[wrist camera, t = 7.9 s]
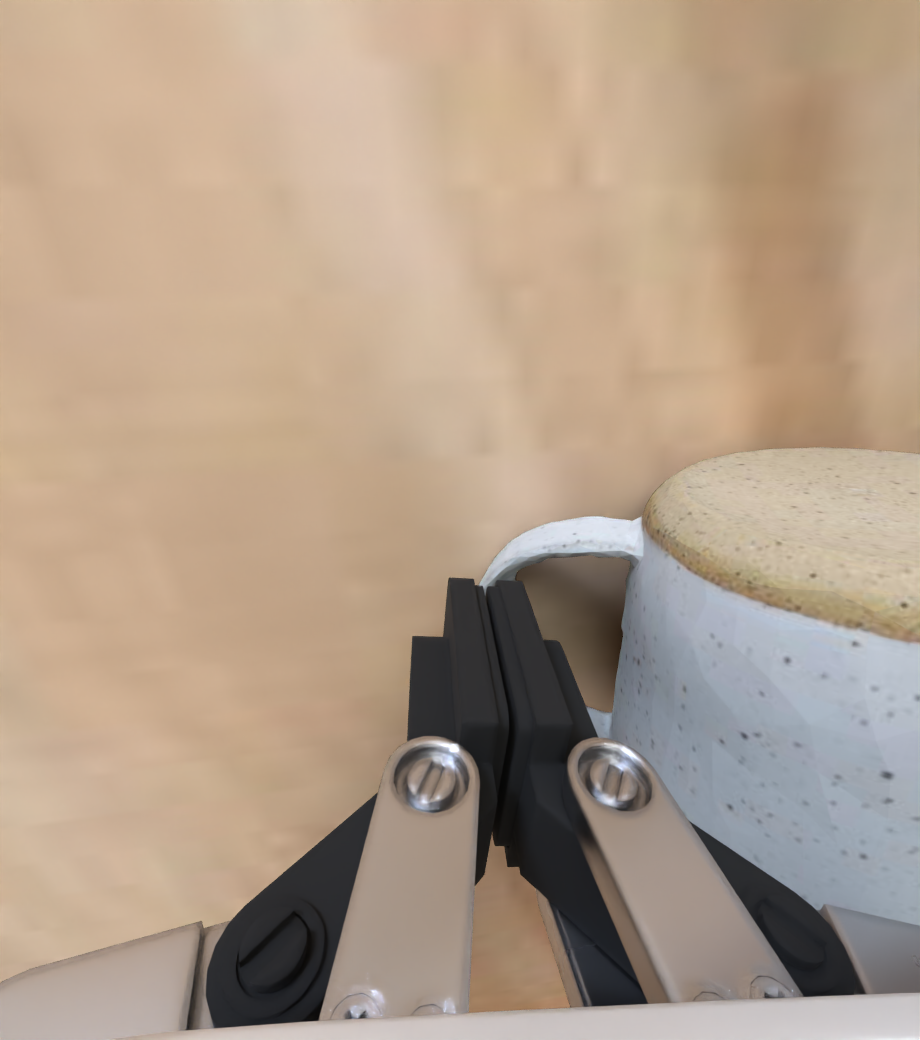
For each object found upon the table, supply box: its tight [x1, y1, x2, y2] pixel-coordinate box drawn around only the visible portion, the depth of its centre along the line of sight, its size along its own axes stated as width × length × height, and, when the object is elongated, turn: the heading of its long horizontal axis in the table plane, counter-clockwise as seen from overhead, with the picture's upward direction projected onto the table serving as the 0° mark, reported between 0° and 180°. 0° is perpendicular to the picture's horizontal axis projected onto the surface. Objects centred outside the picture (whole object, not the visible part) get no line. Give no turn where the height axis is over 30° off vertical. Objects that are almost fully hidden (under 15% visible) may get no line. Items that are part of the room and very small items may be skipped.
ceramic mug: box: [479, 447, 920, 926], centre depth 9 cm, size 11×8×8 cm
